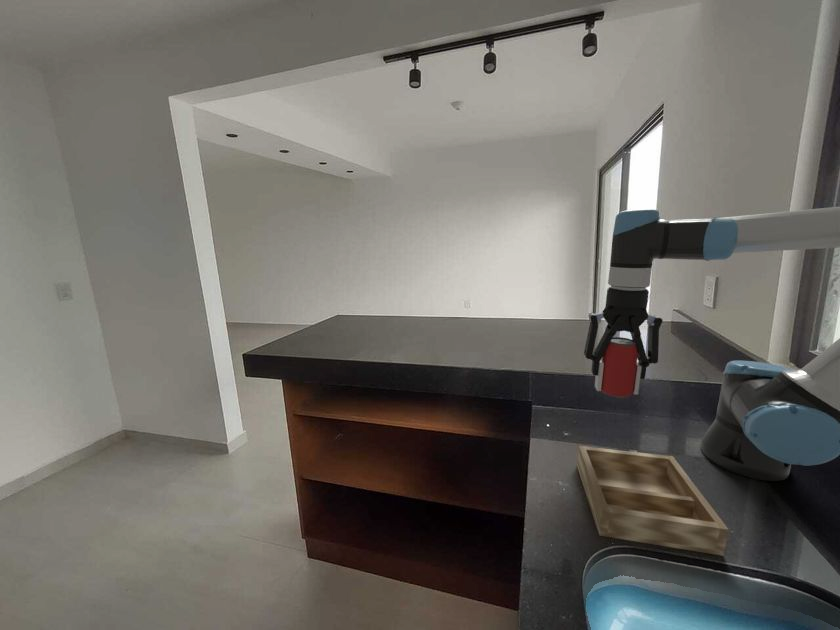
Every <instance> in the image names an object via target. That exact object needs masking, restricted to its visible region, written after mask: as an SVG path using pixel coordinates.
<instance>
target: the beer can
mask: <svg viewBox="0 0 840 630" xmlns="http://www.w3.org/2000/svg"><path fill="white" fill-rule="evenodd" d="M637 357H638V350H637V346H636V342H634V341H633V340H632V338H628V337H621V336H613V338H612V340H611V342H610V344H609V345H608V347H607V349H606V351H605V353H604V355H603V357H602V359H601V360H602V362H603V363H604V368H603V377H602V386H601V391H600V392H602V393H603V394H605V395H608V396H610V397H614V398H623V399H625V398H628V397H630V396H632V395H633V388H634V380H635V372H636V365H637V362H638V358H637Z"/></svg>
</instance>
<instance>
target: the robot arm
mask: <svg viewBox="0 0 840 630" xmlns="http://www.w3.org/2000/svg"><path fill="white" fill-rule="evenodd" d="M612 232H613V233H612V240H611V252H610V261H609V262H610V263H609V270H608V280H607V284H608V285H609V287H608V288H607V289H606V295H605V296H606V297H605V306H604V309H603V311H601V312H597V313H593V312H590V313H588V319H589V327H588V331H587V337H586V341H585V346H584V350H583V355H584V356H585V358H586V359H587V360H591V361H592V362H591V373H592V375H593V376H595V380H594V388H595V390H596V391H597V392H602V391H601V386H602V377H603V368H604V363H603V362H602V357H603V355H604V353H605V351H606V349H607V347H608V345H609V344H610V342H611V340H612V338H613V337H615V336H616V334H617V332H628V333H629V334H630V336H631V339H632V340H633V341H634V342H636V346H637V350H638V357H637V365H636V372H635V380H634V388H633V393H632V395H639V390H640V381H641V380H645V378H646V373H647V368H648V367H649V366H650V365H651V364H658V362H659V346H660V345H659V340H660V328H661V326H662V323H663V318H661V317H659V316H658V315H652V314H649V313H648V311H647V308H648V300H649V290H648V289H647V288H649V287H650V285H651V280H652V279H651V278H652V269H653V262H654V260H655V259H656V260H657V259H658V260H663V259H664V260H665V259H666V260H692V261H693V260H695V261H697V260H700V261H705V262H706V261H707V262H709V261H712V260H713V261H716V260H719V261H720V260H723V261H724V260H727V259H729V258H730V257H731V256H732V255H733V254H738V253H739V254H740V253H757V252H758V253H759V252H777V251H779V252H780V251H797V250H798V251H800V250H816V249H817V250H818V249H836V248H837V249H838V248H839V249H840V206H833V207H823V208H821V207H819V208H812V209H811V208H809V209H800V210H791V211H790V210H788V211H779V212H768V213H759V214H747V215H736V216H725V217H712V218H686V219H660V212H659V210H657V209H632V210H631V209H630V210H623V211H620V212H619V213H618V214H616V216H615V220H614V225H613V231H612ZM602 319H604V321H606V323H607V325H606V326H605V329H604V333H603V334H602V336H601V338H600V340H599V343H598V344H597V346H596V348H595V344H596V339H597V334H598V330H599V324H600V323H602ZM644 322H646V323H647V325H648V326H647V327H648V328H647V354H646V350H645V346H644V343H643V339H642V334H641V330H640V327H641V325H643V323H644ZM724 368H725V369H724V371H722V375H723V376H722V382H721V387H720V393H719V398H718V399H719V400H718V404H717V408H716V409H717V410H716V415H715V419H714V420H713V422H712V423H711V425H710V426H709V427H708V429H707V430H706V431H705V433H704V435H703V436H702V438H701V441H700V447H699V448H700V451H701V452H702V454H703V456H705V457H706V458H707V459H708V460H710V461H711V462H713V463H714V464H716V465H718V466H719V467H722V468H724V469H725V470H727V471H730V472H733V473H735V474H738V475H740V476H744V477H747V478H750V479H755V480H761V481H765V482H766V481H768V482H769V481H770V482H779V481H784V480H786V479H788V478H789V475H790V472H791V468H792V465H798V466H799V465H801V466H806V467H807V466H817V465H822V464H826V463H828V462H830V461H832V460H834V459H836V458H837V457H839V456H840V337H839V338H837V340H835V341H834V342H833V343H832V344H830V345H829V346H828V347H827V348H825V350H823V351H822V352H820V353H819V354H818V355H817V356H815V357H814V358H813V359H812V360H810V361H809V362H808V363H806V364H805V365H804V366H803V367H802V368H800V369H793V368H790V367H787V366H782V365H777V364H775V363H774V364H773V363H767V362H761V361H754V360H752V361H750V360H730V361H729V362H727V364H726V365H725V367H724Z"/></svg>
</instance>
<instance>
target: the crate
mask: <svg viewBox="0 0 840 630" xmlns="http://www.w3.org/2000/svg"><path fill="white" fill-rule="evenodd" d="M576 466H577V470H578V472H579V473H578V474H579V476H580V480H581V482H582V485H583V489H584V492H585V495H586V499H587V501H588V505H589V507H590V511H591V514H592V517H593V520H594V523H595V527H596V530H597V532H598V535H599V536H601V537H607V538H611V539H612V538H613V539H618V540H625V541H629V542H630V541H631V542H637V543H643V544H650V545H655V546H662V547H667V548H674V549H680V550H686V551H691V552H698V553H702V554H703V553H705V554H711V555H716V556H722V557H723V556H724V553H725V550H726V549H725V548H726V545H727V540H728V537H729V536H728V535H729V528H728V527H727V525H726V524H725V523H724V521H723V520H722V519H721V517H720V516H719V515H718V513H717V512H716V511H715V509H714V508H713V507H712V505H710V503H709V502H708V501H707V499H706V497H704V495H703V494H702V493H701V492H700V490H699V489H698V487H697V486H696V485H695V483H694V482H693V481H692V480H691V478H690V477H689V475H688V474H687V472H686V471H685V470H684V469H683V468H682V466H681V465H680V464H679V463H678V461H677V460H676V459H675V457H674V456H672V455H663V454H656V453H655V454H654V453H647V452H645V453H644V452H637V451H627V450H618V449H611V448H610V449H609V448H604V447H603V448H602V447H593V446H585V445H578V451H577V463H576Z"/></svg>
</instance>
